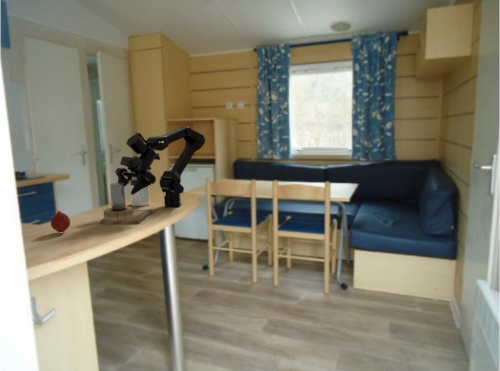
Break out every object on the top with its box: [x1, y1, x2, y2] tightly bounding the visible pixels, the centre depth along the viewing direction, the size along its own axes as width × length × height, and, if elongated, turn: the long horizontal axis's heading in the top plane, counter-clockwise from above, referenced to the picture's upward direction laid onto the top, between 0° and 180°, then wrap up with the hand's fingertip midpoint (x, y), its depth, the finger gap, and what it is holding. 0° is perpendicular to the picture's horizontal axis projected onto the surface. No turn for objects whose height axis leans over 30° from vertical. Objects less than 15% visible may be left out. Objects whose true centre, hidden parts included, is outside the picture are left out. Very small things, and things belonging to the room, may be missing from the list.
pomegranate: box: [50, 209, 71, 233], centre depth 121 cm, size 6×6×8 cm
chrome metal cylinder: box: [109, 182, 127, 212], centre depth 136 cm, size 5×5×13 cm
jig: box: [99, 206, 153, 225], centre depth 140 cm, size 15×18×4 cm
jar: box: [129, 177, 151, 207], centre depth 164 cm, size 9×8×12 cm
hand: (124, 192), depth 138 cm, fingers open, 9 cm apart
